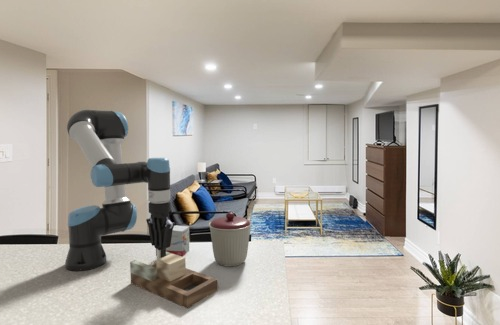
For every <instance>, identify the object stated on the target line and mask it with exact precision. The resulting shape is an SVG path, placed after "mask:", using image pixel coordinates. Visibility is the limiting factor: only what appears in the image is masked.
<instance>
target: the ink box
mask: <svg viewBox="0 0 500 325" xmlns="http://www.w3.org/2000/svg"><path fill="white" fill-rule="evenodd" d="M166 252H169V253H172V254H175V255H179V256H182V257H184V256H185V255H186V254H188V252H190V226H187V225H177V224H175V225H174V227H173V231H172V238H171V244H170V247H168V248H166Z"/></svg>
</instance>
